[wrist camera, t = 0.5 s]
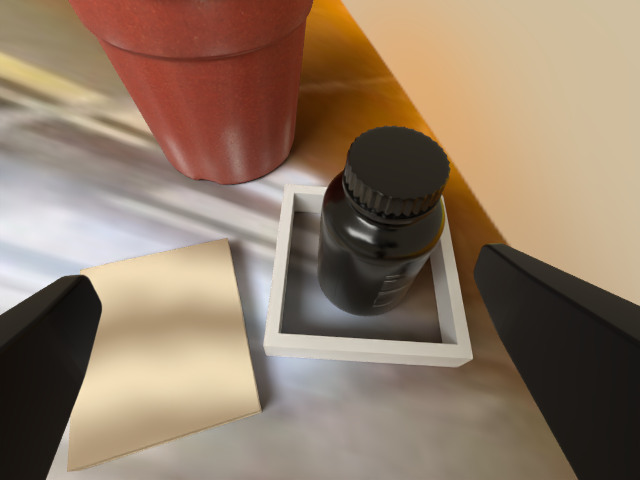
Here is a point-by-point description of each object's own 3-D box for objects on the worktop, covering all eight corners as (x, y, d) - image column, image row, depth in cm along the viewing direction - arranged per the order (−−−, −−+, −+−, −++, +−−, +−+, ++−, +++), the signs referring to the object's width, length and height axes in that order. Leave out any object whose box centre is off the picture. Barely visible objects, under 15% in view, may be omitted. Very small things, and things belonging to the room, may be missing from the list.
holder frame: (457, 367, 23) (473, 358, 21) (266, 355, 22) (263, 345, 20) (433, 213, 29) (443, 195, 27) (285, 202, 29) (284, 184, 27)
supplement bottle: (404, 241, 28) (465, 118, 17) (408, 323, 24) (490, 228, 14) (319, 232, 28) (331, 104, 17) (311, 314, 24) (320, 212, 14)
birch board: (261, 412, 21) (259, 410, 20) (79, 470, 19) (67, 471, 18) (229, 246, 26) (227, 238, 25) (89, 277, 25) (80, 269, 24)
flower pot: (182, 74, 38) (117, -141, 24) (329, 99, 37) (348, -110, 23) (105, 187, 29) (-67, -51, 15) (295, 222, 28) (293, 5, 14)
